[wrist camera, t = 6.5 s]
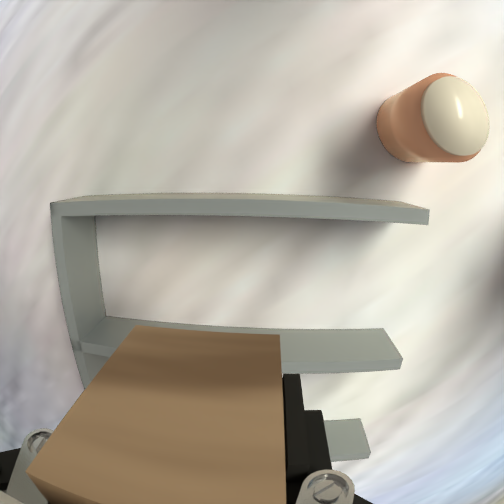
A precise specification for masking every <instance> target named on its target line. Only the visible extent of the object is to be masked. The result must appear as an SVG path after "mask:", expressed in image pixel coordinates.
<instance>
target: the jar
mask: <svg viewBox="0 0 504 504" xmlns="http://www.w3.org/2000/svg"><path fill="white" fill-rule="evenodd" d="M377 131H378V135H379V138H380V140H381V142H382V144H383V146H384V147H385V148H386V150H387V151H388V152H389V153H390V154H391V155H393V156H394V157H395V158H397V159H399V160H402V161H405V162H465V161H468V160H470V159H472V158H474V157H475V156H476V155H477V154H478V153H479V151H480V150H481V148H482V147H483V146H484V144H485V143H486V140H487V138H488V134H489V117H488V112H487V109H486V106H485V104H484V102H483V100H482V98H481V96H480V95H479V93H478V92H477V91H476V90H475V89H474V87H472V86H471V85H470V84H469V83H468V82H466V81H464V80H463V79H460V78H458V77H456V76H454V75H451V74H447V73H437V74H433V75H431V76H429V77H427V78H425V79H423V80H421V81H419V82H417V83H416V84H414V85H412V86H410V87H408V88H406V89H405V90H403V91H401V92H399V93H397V94H396V95H394V96H392V97H390V98H389V99H387V100H386V101H385V102H384V103H383V104H382V106H381V107H380V109H379V112H378V115H377Z"/></svg>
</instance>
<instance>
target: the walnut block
mask: <svg viewBox="0 0 504 504" xmlns="http://www.w3.org/2000/svg"><path fill="white" fill-rule="evenodd" d="M25 472H26V473H27V475H28V476H29V478H30V479H31V480H32V482H33V483H34V484H35V486H36V487H37V488H38V490H39V491H40V492H41V493H42V495H43V496H44V497H45V499H46V500H48V501H49V502H50V503H51V504H286V472H285V440H284V413H283V389H282V368H281V348H280V335H278V334H249V333H228V332H212V331H197V330H184V329H173V328H162V327H151V326H142V325H135V327H134V328H133V329H132V330H131V332H130V333H129V334H128V335H127V337H126V338H125V339H124V340H123V342H122V343H121V344H120V345H119V347H118V348H117V349H116V350H115V352H114V353H113V354H112V355H111V357H110V358H109V359H108V361H107V362H106V363H105V364H104V366H103V367H102V368H101V369H100V371H99V372H98V373H97V375H96V376H95V377H94V378H93V380H92V381H91V382H90V384H89V385H88V386H87V388H86V389H85V390H84V392H83V393H82V394H81V395H80V397H79V398H78V399H77V401H76V402H75V403H74V405H73V406H72V407H71V409H70V410H69V411H68V413H67V414H66V415H65V417H64V418H63V419H62V421H61V422H60V424H59V425H58V426H57V428H56V429H55V430H54V432H53V433H52V434H51V436H50V437H49V439H48V440H47V441H46V443H45V444H44V446H43V447H42V448H41V450H40V451H39V453H38V454H37V455H36V457H35V458H34V460H33V461H32V463H31V464H30V465H29V467H28V468H27V470H26V471H25Z"/></svg>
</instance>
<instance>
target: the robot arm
mask: <svg viewBox="0 0 504 504" xmlns="http://www.w3.org/2000/svg"><path fill="white" fill-rule="evenodd" d="M282 389H283V413H284V440H285V472H286V504H373V503H371V502H369V501H367V500H365V499H363V498H361V497H359V496H358V495H356V494H354V492H355V490H354V484H353V482H352V480H351V479H350V478H349V477H348V476H347V475H346V474H344V473H342V472H339V471H336V470H332V466H331V460H330V454H329V448H328V442H327V437H326V431H325V426H324V420H323V415H322V411H321V410H304V404H303V396H302V388H301V380H300V374H283V378H282ZM53 432H54V431H53V430H51V429H47V428H41V429H37V430H34V431H32V432H30V433H29V434H28V435H27V436H26V438H25V439H24V441H23V444H22V447H21V448H18V449H14V450H9V451H5V452H0V504H51V503H50V502H49V501H48V500H46V499H45V497H44V496H43V495H42V493H41V492H40V491H39V490H38V488H37V487H36V486H35V484H34V483H33V482H32V480H31V479H30V478H29V476H28V475H27V473H26V472H25V471H26V470H27V468H28V467H29V465H30V464H31V463H32V461H33V460H34V458H35V457H36V455H37V454H38V453H39V451H40V450H41V448H42V447H43V446H44V444H45V443H46V441H47V440H48V439H49V437H50V436H51V434H52V433H53Z"/></svg>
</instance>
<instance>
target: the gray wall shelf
mask: <svg viewBox="0 0 504 504" xmlns="http://www.w3.org/2000/svg"><path fill="white" fill-rule="evenodd" d="M50 210H51V224H52V235H53V244H54V253H55V260H56V268H57V274H58V281H59V287H60V293H61V298H62V303H63V308H64V313H65V318H66V323H67V327H68V331H69V336H70V340H71V344H72V348H73V352H74V355H75V359H76V363H77V366H78V370H79V373H80V376H81V380H82V383H83V386H84V389H86V388H87V386H88V385H89V384H90V382H91V381H92V380H93V378H94V377H95V376H96V375H97V373H98V372H99V371H100V369H101V368H102V367H103V366H104V364H105V363H106V362H107V361H108V359H109V358H110V357H111V355H112V354H113V353H114V352H115V350H116V349H117V348H118V347H119V345H120V344H121V343H122V342H123V340H124V339H125V338H126V337H127V335H128V334H129V333H130V332H131V330H132V329H133V328H134V327H135V325H142V326H151V327H162V328H173V329H184V330H197V331H212V332H228V333H249V334H278V335H280V348H281V368H282V373H349V372H369V371H384V370H397V369H400V367H401V364H402V360H403V358H402V356H401V355H400V353H399V352H398V350H397V348H396V347H395V345H394V344H393V342H392V341H391V339H390V338H389V336H388V335H387V333H386V332H385V330H384V329H383V328H382V329H267V328H241V327H222V326H206V325H191V324H178V323H167V322H156V321H145V320H136V319H126V318H118V317H109V316H106V313H105V306H104V300H103V293H102V286H101V278H100V270H99V261H98V251H97V240H96V227H95V215H217V216H261V217H292V218H318V219H339V220H359V221H377V222H393V223H408V224H422V225H428V221H429V211H430V210H429V209H425V208H422V207H418V206H415V205H411V204H408V203H404V202H399V201H387V200H375V199H361V198H346V197H329V196H309V195H285V194H250V193H151V194H117V195H94V196H82V197H76V198H71V199H66V200H61V201H57V202H52V203H50ZM324 426H325V431H326V437H327V442H328V448H329V454H330V460H331V462H336V461H348V460H358V459H367V458H369V455H370V453H371V451H370V448H369V444H368V441H367V438H366V435H365V431H364V428H363V425H362V422H361V419H348V420H331V421H324Z"/></svg>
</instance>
